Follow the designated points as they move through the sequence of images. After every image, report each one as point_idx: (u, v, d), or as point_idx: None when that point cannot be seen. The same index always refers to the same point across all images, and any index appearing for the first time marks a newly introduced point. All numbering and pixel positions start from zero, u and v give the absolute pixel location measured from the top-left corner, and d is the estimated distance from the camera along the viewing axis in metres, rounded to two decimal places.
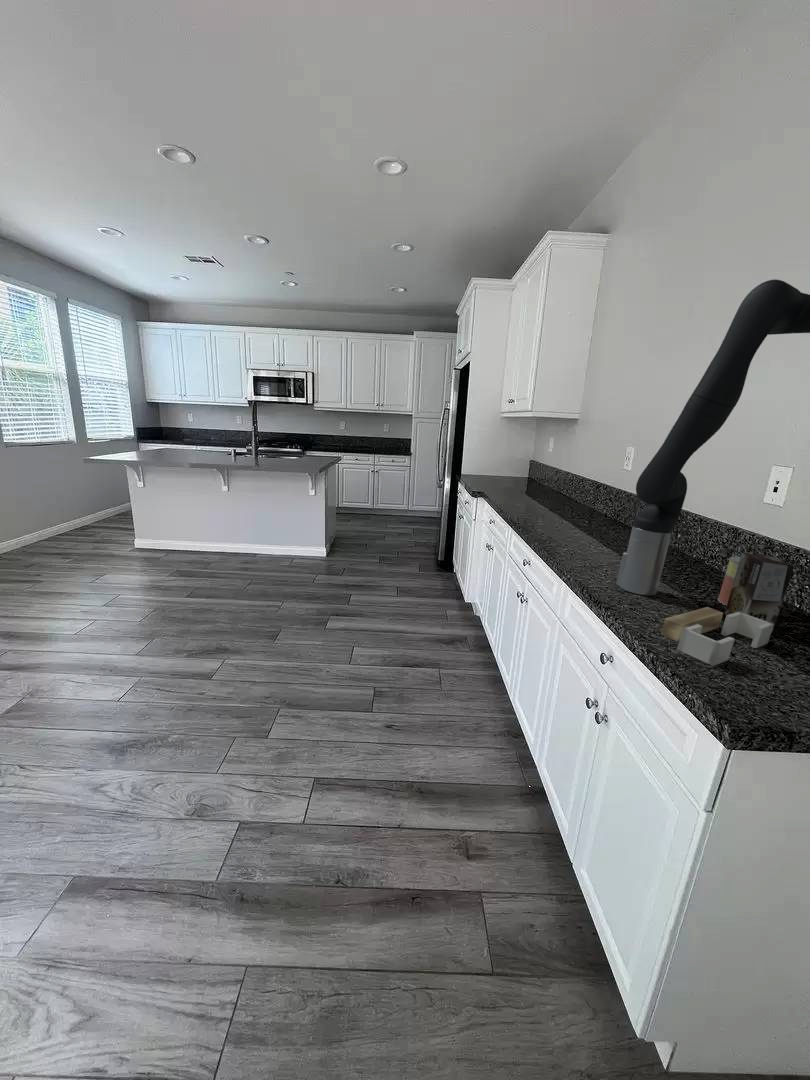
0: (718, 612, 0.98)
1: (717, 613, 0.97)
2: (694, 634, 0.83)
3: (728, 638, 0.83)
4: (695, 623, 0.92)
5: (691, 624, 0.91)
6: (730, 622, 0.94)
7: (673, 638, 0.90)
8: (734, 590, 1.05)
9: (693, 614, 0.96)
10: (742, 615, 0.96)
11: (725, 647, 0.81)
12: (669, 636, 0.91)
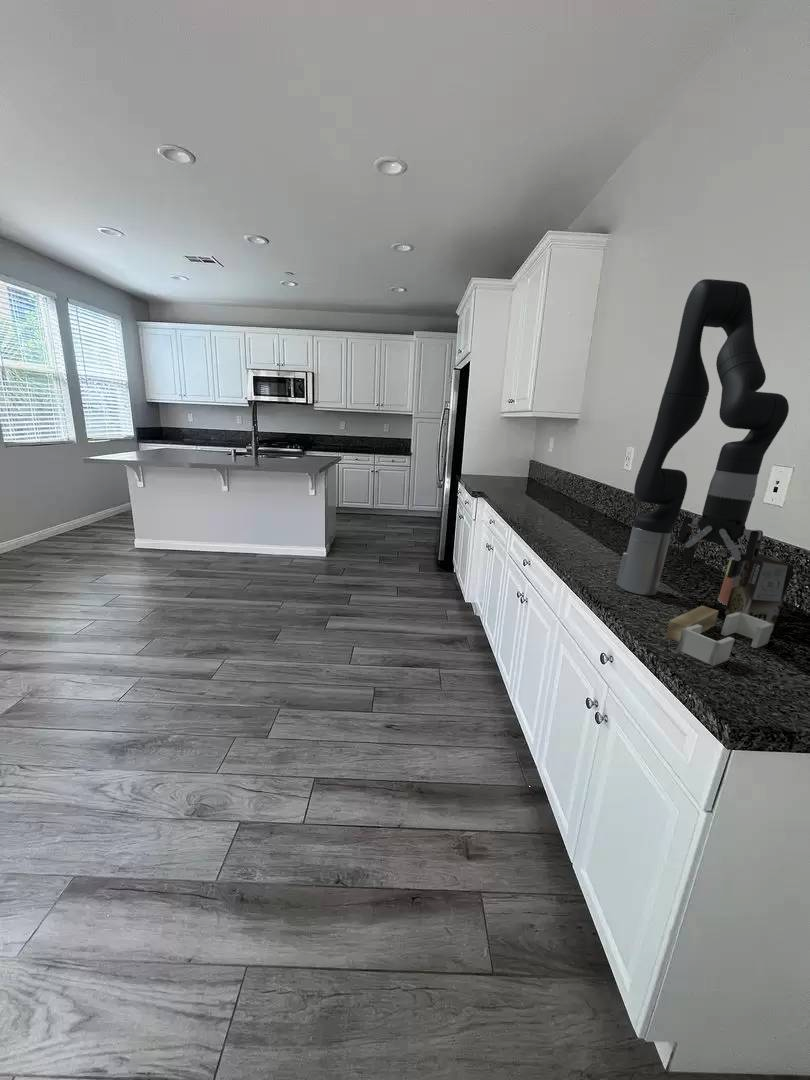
0: (714, 610, 0.99)
1: (713, 612, 0.98)
2: (694, 634, 0.83)
3: (728, 638, 0.83)
4: (697, 623, 0.92)
5: (694, 624, 0.91)
6: (730, 622, 0.94)
7: (678, 640, 0.90)
8: (734, 590, 1.05)
9: (692, 614, 0.96)
10: (742, 615, 0.96)
11: (725, 647, 0.81)
12: (674, 638, 0.90)
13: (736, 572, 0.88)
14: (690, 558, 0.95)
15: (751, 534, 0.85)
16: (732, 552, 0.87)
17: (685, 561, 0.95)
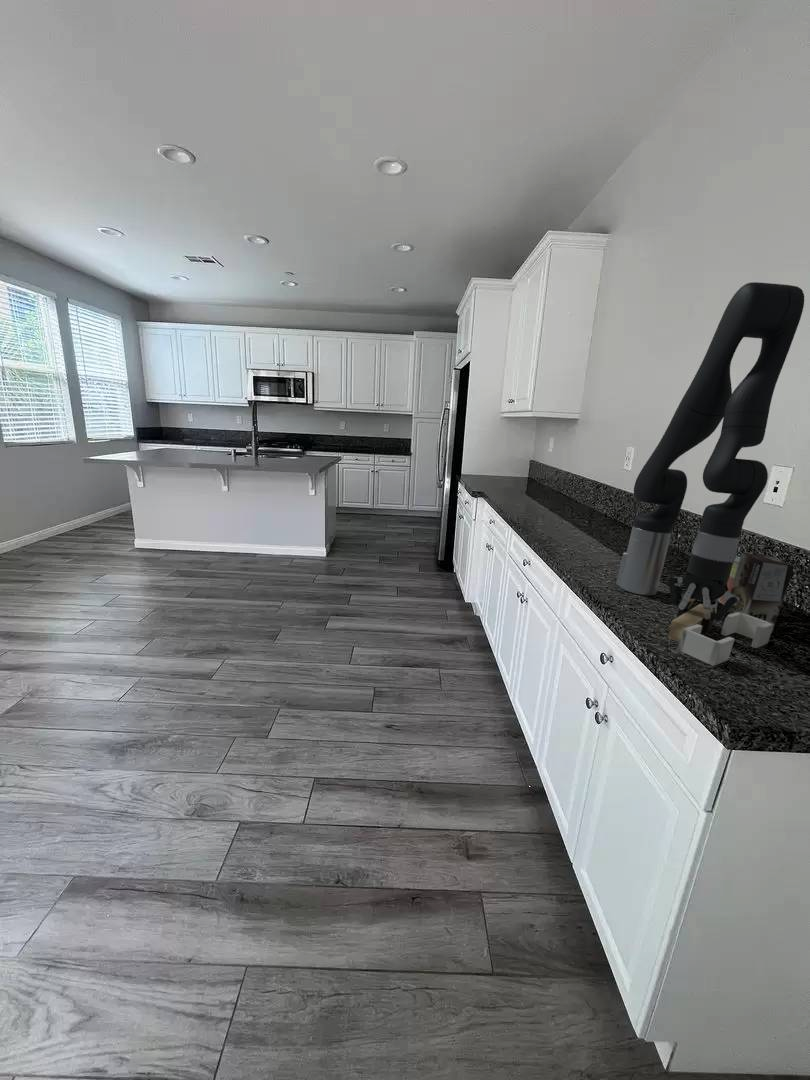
0: None
1: None
2: (694, 634, 0.83)
3: (728, 638, 0.83)
4: (699, 623, 0.92)
5: (696, 624, 0.91)
6: (730, 622, 0.94)
7: None
8: (734, 590, 1.05)
9: (693, 613, 0.96)
10: (742, 615, 0.96)
11: (725, 647, 0.81)
12: (677, 638, 0.90)
13: (706, 630, 0.93)
14: None
15: (729, 599, 0.88)
16: (705, 610, 0.92)
17: None
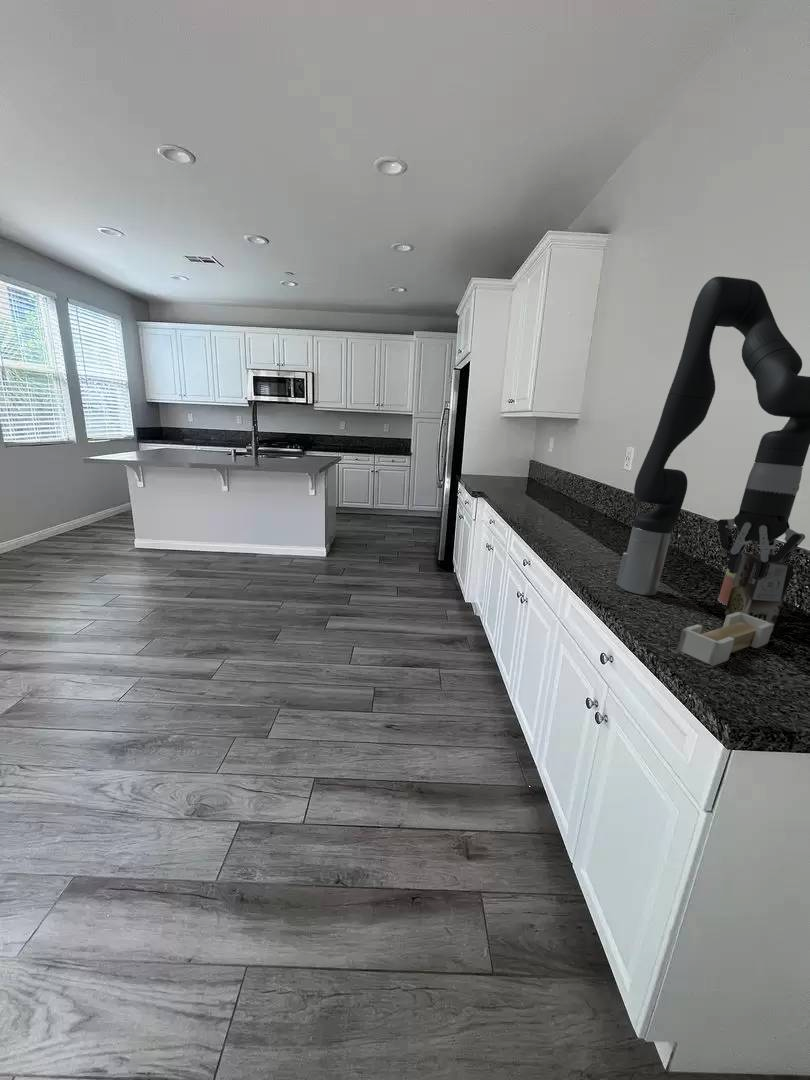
0: (753, 628, 0.91)
1: (752, 630, 0.90)
2: (694, 634, 0.83)
3: (728, 638, 0.83)
4: None
5: None
6: (730, 622, 0.94)
7: None
8: (734, 590, 1.05)
9: (726, 630, 0.89)
10: (742, 615, 0.96)
11: (725, 647, 0.81)
12: None
13: (763, 574, 0.83)
14: (736, 566, 0.87)
15: (792, 537, 0.78)
16: (762, 551, 0.82)
17: (731, 569, 0.87)
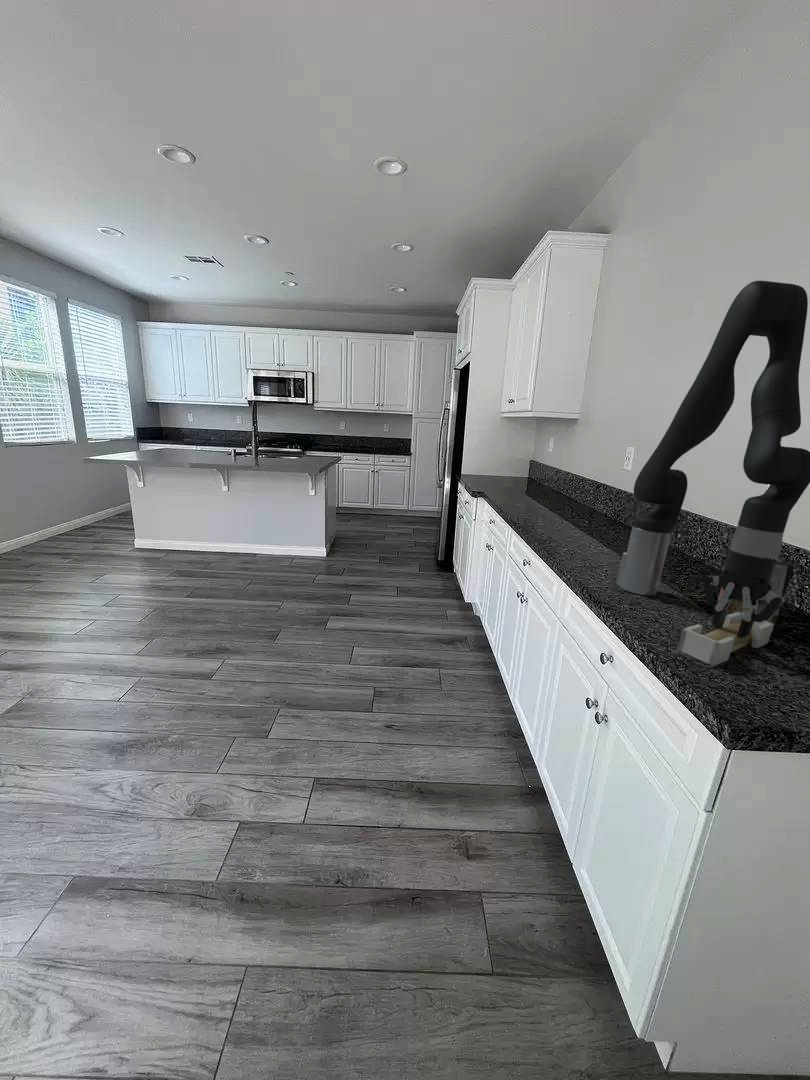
0: None
1: None
2: (694, 634, 0.83)
3: (728, 638, 0.83)
4: None
5: None
6: (730, 622, 0.94)
7: None
8: None
9: (725, 630, 0.89)
10: (742, 615, 0.96)
11: (725, 647, 0.81)
12: None
13: (746, 632, 0.86)
14: (721, 622, 0.90)
15: (773, 600, 0.81)
16: (745, 611, 0.85)
17: (715, 625, 0.90)
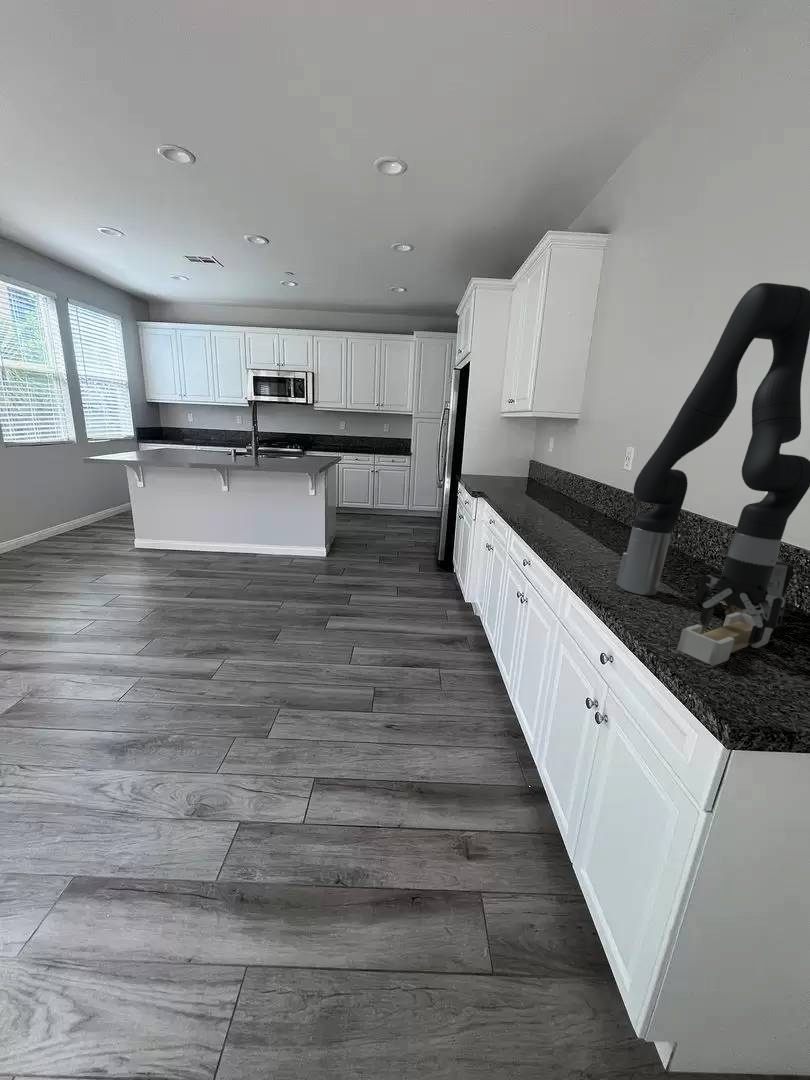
0: (752, 627, 0.91)
1: (750, 628, 0.90)
2: (694, 634, 0.83)
3: (728, 638, 0.83)
4: None
5: None
6: (730, 622, 0.94)
7: None
8: None
9: (726, 629, 0.89)
10: (742, 615, 0.96)
11: (725, 647, 0.81)
12: None
13: (758, 638, 0.84)
14: (708, 619, 0.92)
15: (774, 601, 0.81)
16: (753, 618, 0.84)
17: (703, 621, 0.92)
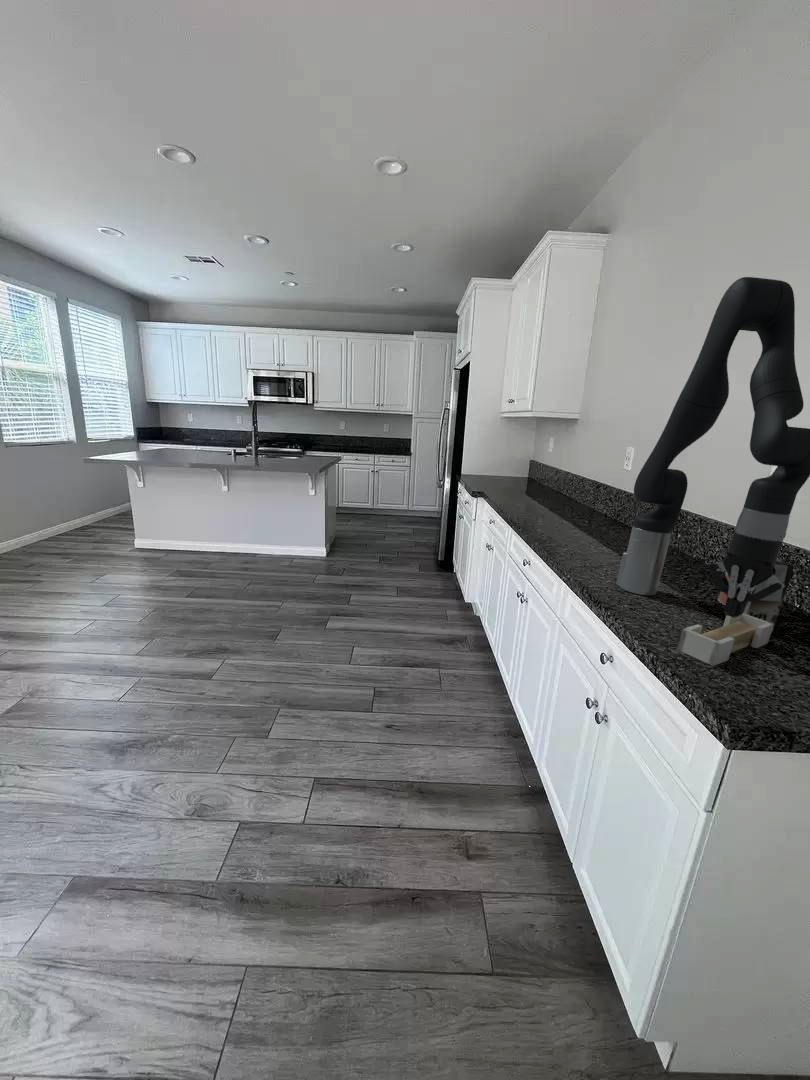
0: (752, 627, 0.91)
1: (750, 628, 0.90)
2: (694, 634, 0.83)
3: (728, 638, 0.83)
4: None
5: None
6: (730, 622, 0.94)
7: None
8: None
9: (726, 629, 0.89)
10: (742, 615, 0.96)
11: (725, 647, 0.81)
12: None
13: (739, 612, 0.87)
14: None
15: (773, 585, 0.81)
16: (741, 591, 0.86)
17: (728, 612, 0.88)
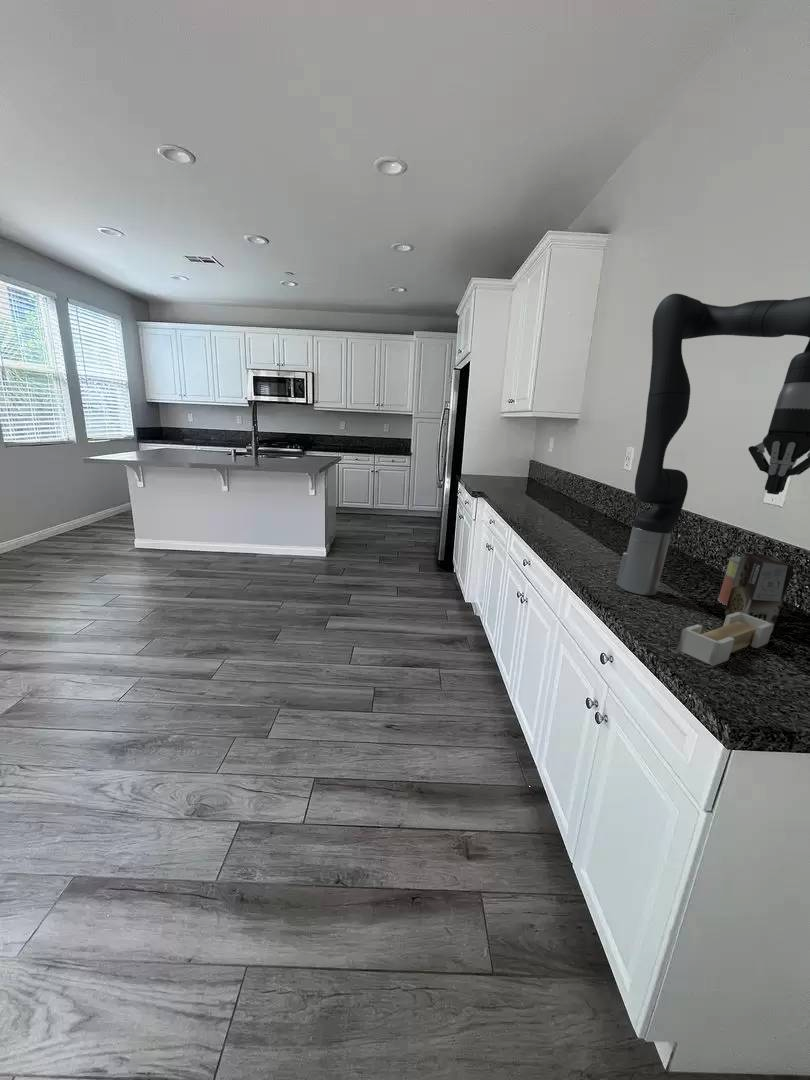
0: (751, 627, 0.91)
1: (750, 629, 0.90)
2: (694, 634, 0.83)
3: (728, 638, 0.83)
4: None
5: None
6: (730, 622, 0.94)
7: None
8: (734, 590, 1.05)
9: (726, 629, 0.89)
10: (742, 615, 0.96)
11: (725, 647, 0.81)
12: None
13: (780, 488, 0.90)
14: None
15: None
16: (782, 466, 0.89)
17: (769, 489, 0.92)
